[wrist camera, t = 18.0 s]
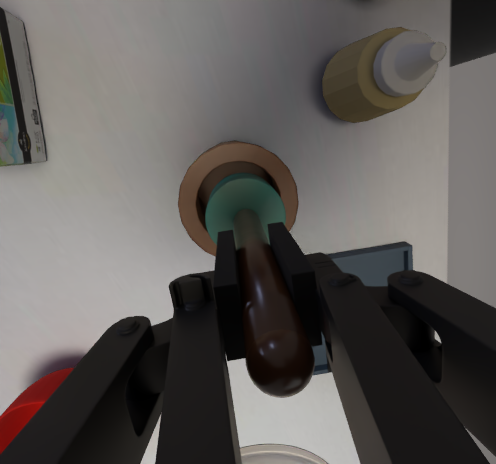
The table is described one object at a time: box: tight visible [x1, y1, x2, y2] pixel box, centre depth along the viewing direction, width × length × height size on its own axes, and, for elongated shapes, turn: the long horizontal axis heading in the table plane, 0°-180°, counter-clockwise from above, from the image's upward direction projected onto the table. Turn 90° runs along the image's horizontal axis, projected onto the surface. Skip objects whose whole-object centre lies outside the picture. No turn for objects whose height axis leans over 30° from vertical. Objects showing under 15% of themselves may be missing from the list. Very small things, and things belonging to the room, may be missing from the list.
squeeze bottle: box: [322, 27, 446, 123], centre depth 32 cm, size 8×8×18 cm
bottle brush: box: [205, 173, 315, 398], centre depth 18 cm, size 6×6×21 cm
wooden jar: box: [178, 141, 298, 256], centre depth 36 cm, size 10×10×14 cm
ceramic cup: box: [0, 368, 74, 454], centre depth 45 cm, size 13×17×10 cm
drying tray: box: [312, 242, 413, 375], centre depth 48 cm, size 19×17×2 cm
